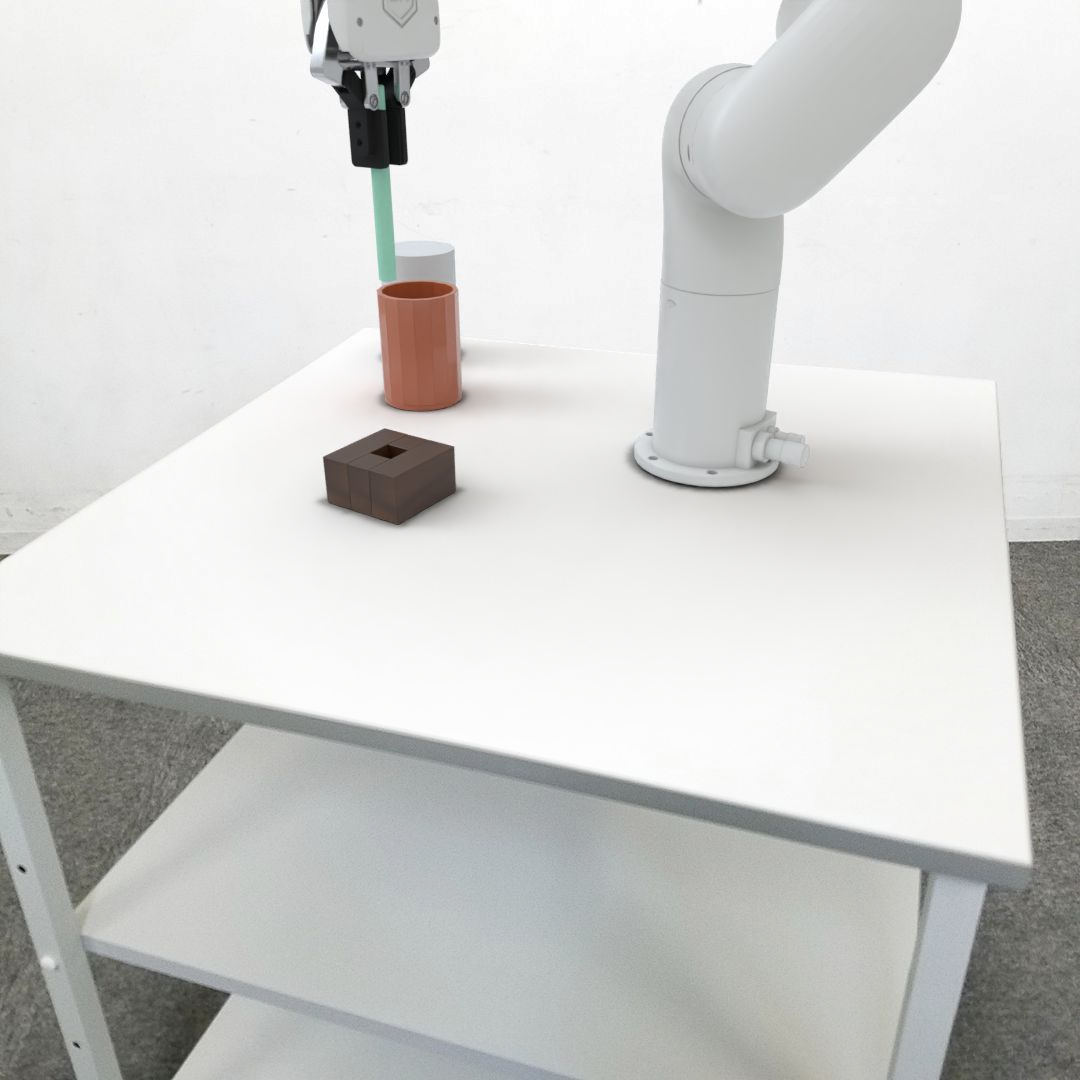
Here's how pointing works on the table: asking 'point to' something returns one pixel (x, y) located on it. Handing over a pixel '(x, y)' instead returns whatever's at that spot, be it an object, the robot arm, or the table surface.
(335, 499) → the holder
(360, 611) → the table surface
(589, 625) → the table surface
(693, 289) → the robot arm
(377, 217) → the straw
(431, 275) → the light grey cylinder
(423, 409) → the tumbler
